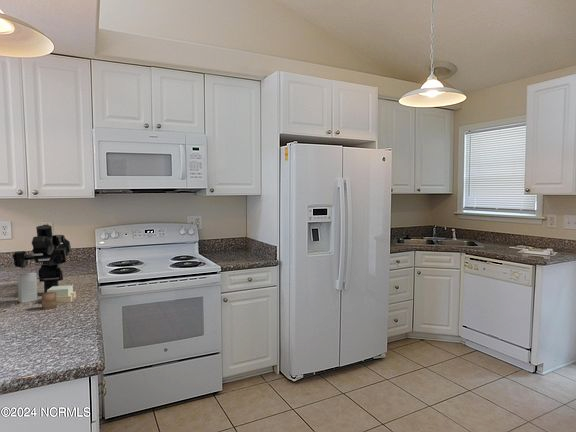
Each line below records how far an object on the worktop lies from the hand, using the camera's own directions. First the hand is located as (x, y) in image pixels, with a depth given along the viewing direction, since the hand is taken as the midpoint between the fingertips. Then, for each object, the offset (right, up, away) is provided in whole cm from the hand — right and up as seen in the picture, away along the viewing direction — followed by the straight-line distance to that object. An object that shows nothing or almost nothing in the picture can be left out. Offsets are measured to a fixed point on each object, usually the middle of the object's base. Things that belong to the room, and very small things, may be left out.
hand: (35, 265), depth 154 cm
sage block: (+2, -14, +13) cm, 20 cm away
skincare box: (-11, -17, +11) cm, 23 cm away
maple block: (+2, -17, +13) cm, 22 cm away
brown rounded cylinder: (+5, -17, +1) cm, 18 cm away
